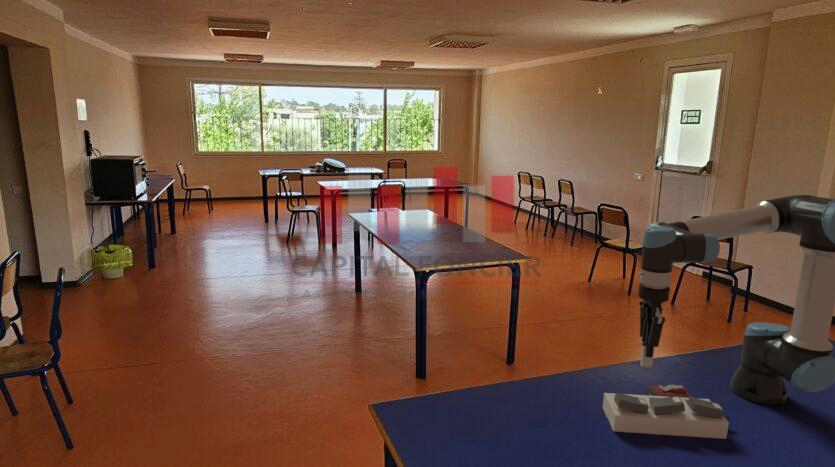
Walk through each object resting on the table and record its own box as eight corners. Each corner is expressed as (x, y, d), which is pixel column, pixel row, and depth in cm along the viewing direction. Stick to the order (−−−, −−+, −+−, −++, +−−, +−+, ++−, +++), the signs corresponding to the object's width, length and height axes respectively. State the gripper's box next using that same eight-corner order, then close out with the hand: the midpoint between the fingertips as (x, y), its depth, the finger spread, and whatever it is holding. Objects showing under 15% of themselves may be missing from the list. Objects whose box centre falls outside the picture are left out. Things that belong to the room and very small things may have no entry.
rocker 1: (641, 406, 147) (644, 398, 147) (646, 414, 143) (649, 406, 143) (614, 399, 148) (616, 391, 147) (617, 407, 144) (620, 399, 143)
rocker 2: (679, 403, 146) (678, 395, 145) (685, 411, 142) (684, 402, 142) (650, 407, 147) (649, 398, 147) (654, 414, 143) (653, 406, 143)
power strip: (717, 415, 152) (719, 399, 151) (737, 439, 141) (740, 422, 140) (602, 407, 156) (604, 392, 154) (613, 431, 144) (615, 414, 143)
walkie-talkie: (652, 407, 157) (719, 410, 156) (654, 394, 156) (722, 396, 155) (641, 392, 165) (705, 394, 164) (643, 380, 164) (707, 382, 164)
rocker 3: (715, 411, 145) (718, 403, 145) (721, 419, 142) (725, 410, 141) (686, 404, 146) (690, 396, 145) (692, 411, 142) (696, 403, 141)
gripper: (632, 276, 144) (625, 354, 149) (648, 292, 131) (639, 376, 137) (660, 277, 143) (652, 355, 148) (678, 293, 131) (669, 378, 136)
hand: (646, 365), depth 143 cm, fingers closed
